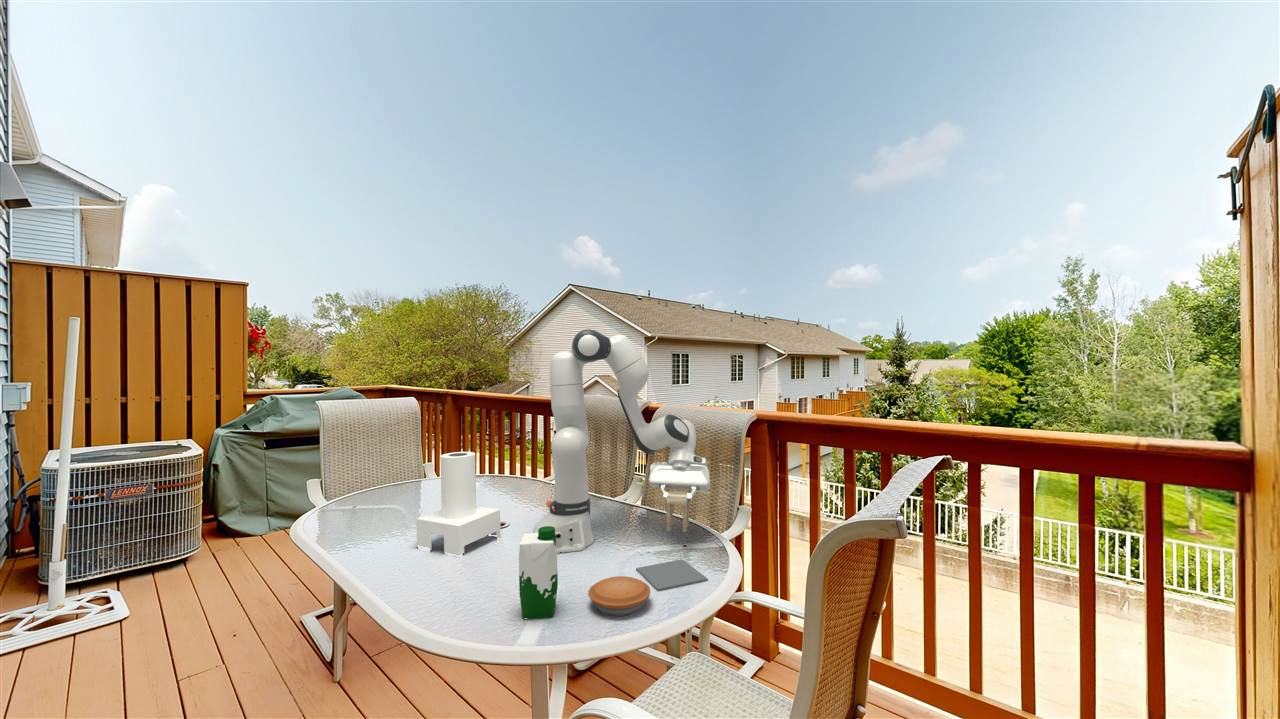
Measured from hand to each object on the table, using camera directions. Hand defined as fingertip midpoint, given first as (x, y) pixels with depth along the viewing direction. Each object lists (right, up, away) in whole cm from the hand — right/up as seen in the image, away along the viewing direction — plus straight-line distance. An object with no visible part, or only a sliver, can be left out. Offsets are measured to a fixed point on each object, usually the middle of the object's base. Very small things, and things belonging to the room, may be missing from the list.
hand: (677, 499), depth 164 cm
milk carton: (-36, -16, -40) cm, 56 cm away
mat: (-3, -16, -21) cm, 26 cm away
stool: (0, -9, +1) cm, 9 cm away
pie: (-17, -16, -37) cm, 44 cm away
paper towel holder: (-73, -17, +8) cm, 75 cm away
